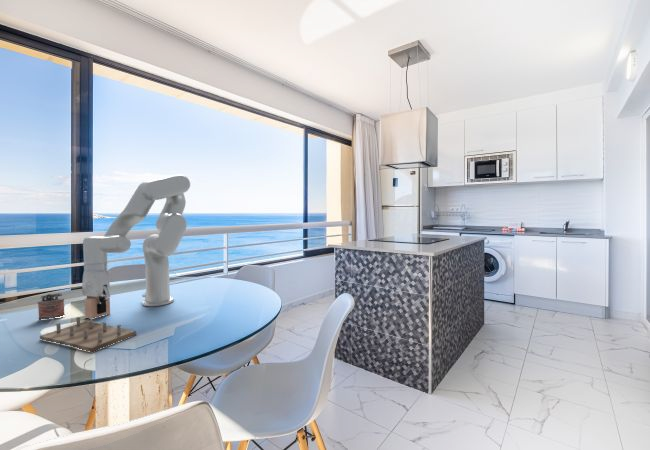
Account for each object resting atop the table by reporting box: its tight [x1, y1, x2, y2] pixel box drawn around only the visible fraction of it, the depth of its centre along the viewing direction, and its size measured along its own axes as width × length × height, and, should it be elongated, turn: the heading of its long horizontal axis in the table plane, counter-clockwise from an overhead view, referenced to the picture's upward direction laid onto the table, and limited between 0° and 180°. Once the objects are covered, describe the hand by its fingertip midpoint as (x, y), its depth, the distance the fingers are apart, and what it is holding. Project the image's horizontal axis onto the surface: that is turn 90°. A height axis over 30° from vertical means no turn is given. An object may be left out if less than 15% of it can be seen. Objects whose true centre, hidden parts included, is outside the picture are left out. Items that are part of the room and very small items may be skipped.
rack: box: [39, 316, 137, 353], centre depth 102 cm, size 26×14×4 cm, turn 69°
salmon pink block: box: [84, 294, 111, 318], centre depth 123 cm, size 4×7×8 cm, turn 159°
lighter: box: [37, 292, 66, 320], centre depth 121 cm, size 8×3×10 cm, turn 117°
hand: (97, 311), depth 123 cm, fingers closed on salmon pink block, 4 cm apart
